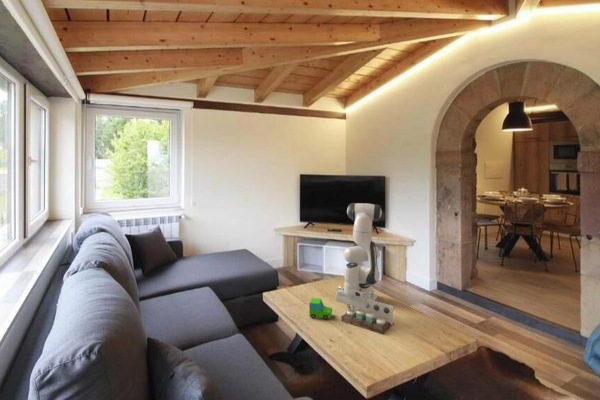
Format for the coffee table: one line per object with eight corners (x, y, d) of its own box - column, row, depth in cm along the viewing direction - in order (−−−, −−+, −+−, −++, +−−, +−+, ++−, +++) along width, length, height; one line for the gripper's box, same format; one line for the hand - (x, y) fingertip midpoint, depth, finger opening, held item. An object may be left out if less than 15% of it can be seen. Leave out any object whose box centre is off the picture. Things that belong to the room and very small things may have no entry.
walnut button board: (349, 315, 218) (349, 310, 218) (390, 327, 202) (390, 322, 202) (341, 321, 211) (341, 316, 210) (383, 334, 194) (383, 329, 194)
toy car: (330, 321, 211) (330, 305, 210) (309, 319, 213) (309, 303, 212) (332, 314, 221) (332, 298, 220) (311, 312, 223) (311, 297, 222)
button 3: (368, 318, 207) (368, 311, 207) (375, 320, 205) (376, 313, 204) (364, 321, 204) (364, 314, 203) (372, 323, 201) (372, 316, 200)
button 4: (378, 324, 204) (378, 317, 203) (386, 327, 201) (386, 319, 200) (374, 327, 200) (375, 320, 200) (382, 330, 197) (382, 323, 197)
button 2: (358, 315, 211) (358, 308, 211) (365, 317, 209) (366, 310, 208) (354, 318, 208) (355, 311, 207) (362, 320, 205) (362, 313, 204)
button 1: (349, 316, 215) (349, 309, 215) (356, 318, 213) (356, 311, 212) (345, 318, 212) (345, 311, 211) (352, 320, 209) (352, 313, 208)
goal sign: (353, 312, 223) (353, 294, 222) (393, 324, 207) (394, 305, 205) (350, 314, 220) (350, 296, 218) (391, 326, 204) (391, 307, 202)
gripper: (334, 287, 214) (333, 309, 215) (364, 295, 202) (363, 317, 203) (339, 284, 219) (338, 305, 220) (369, 291, 207) (368, 314, 208)
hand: (351, 311), depth 212 cm, fingers closed, pressing on button 1
